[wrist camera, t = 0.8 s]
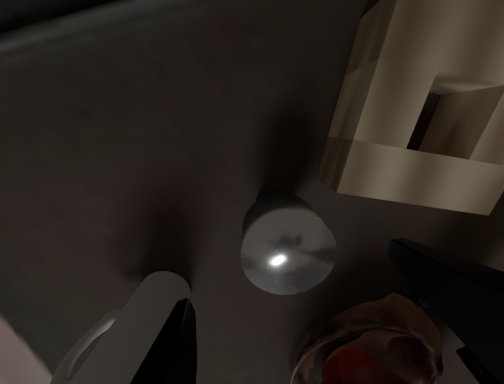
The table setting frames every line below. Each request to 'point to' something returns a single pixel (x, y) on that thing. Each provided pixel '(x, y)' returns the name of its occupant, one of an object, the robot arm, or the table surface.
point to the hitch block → (411, 103)
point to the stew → (377, 346)
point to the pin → (285, 244)
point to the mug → (125, 333)
